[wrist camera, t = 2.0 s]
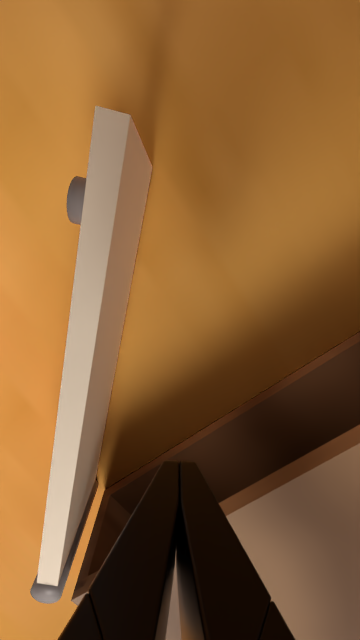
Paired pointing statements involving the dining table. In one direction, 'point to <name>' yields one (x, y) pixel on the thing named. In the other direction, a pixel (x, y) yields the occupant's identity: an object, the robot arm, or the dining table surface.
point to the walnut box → (276, 495)
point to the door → (92, 333)
